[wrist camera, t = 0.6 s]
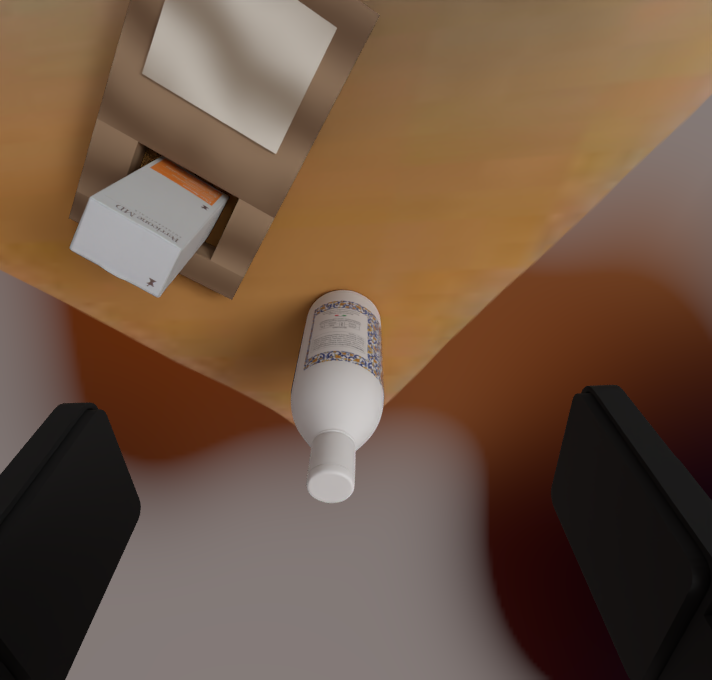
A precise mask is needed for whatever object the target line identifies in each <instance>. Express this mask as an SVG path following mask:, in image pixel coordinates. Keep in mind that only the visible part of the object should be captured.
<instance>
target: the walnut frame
mask: <svg viewBox="0 0 712 680" xmlns="http://www.w3.org/2000/svg"><path fill="white" fill-rule="evenodd" d="M379 16H380V15H379V14H378V13H376V12H375V11H374V10H372V9H371V8H370V7H368V6H367V5H365V4H364V3H363V2H361V1H360V0H130V3H129V7H128V10H127V14H126V17H125V21H124V24H123V28H122V31H121V35H120V39H119V42H118V46H117V49H116V53H115V56H114V60H113V63H112V67H111V70H110V74H109V78H108V81H107V85H106V88H105V92H104V95H103V99H102V102H101V106H100V110H99V113H98V117H97V120H96V124H95V127H94V131H93V134H92V138H91V142H90V145H89V149H88V152H87V156H86V159H85V163H84V166H83V170H82V174H81V177H80V181H79V184H78V188H77V191H76V195H75V198H74V202H73V205H72V209H71V213H70V216H69V218H70V219H72V220H74V221H76V222H78V223H79V222H80V220H81V217H82V215H83V212H84V210H85V208H86V205H87V203H88V200H89V198H90V197H91V196H92V195H94V194H96V193H97V192H99V191H101V190H103V189H105V188H106V187H108V186H110V185H112V184H113V183H115V182H117V181H119V180H120V179H122V178H124V177H126V176H128V175H129V174H131V173H133V172H135V171H136V170H138V169H140V166H141V163H142V160H143V157H144V154H145V151H146V148H147V147H149V148H150V149H152V150H154V151H156V152H157V153H159V154H161V155H163V156H165V157H166V158H168V159H170V160H172V161H173V162H175V163H177V164H179V165H181V166H182V167H184V168H186V169H188V170H189V171H191V172H193V173H195V174H197V175H198V176H200V177H202V178H204V179H205V180H207V181H209V182H211V183H213V184H214V185H216V186H218V187H220V188H221V189H223V190H225V191H227V192H229V193H230V194H232V195H234V196H236V197H237V198H239V200H238V202H237V204H236V207H235V209H234V211H233V213H232V215H231V217H230V219H229V221H228V224H227V226H226V228H225V230H224V232H223V234H222V236H221V239H220V241H219V243H218V245H217V247H214V246H212V245H210V244H208V243H206V242H204V243H203V244H202V245H201V246H200V247H199V249H198V250H197V251H196V252H195V254H194V255H193V256H192V257H191V259H190V260H189V261H188V262H187V264H186V265H185V266H184V267H183V269H182V270H181V271H180V272H179V274H181V275H183V276H185V277H187V278H189V279H191V280H193V281H195V282H197V283H199V284H201V285H203V286H205V287H207V288H209V289H211V290H213V291H215V292H217V293H219V294H221V295H223V296H225V297H227V298H229V299H231V300H232V299H233V297H234V295H235V293H236V291H237V289H238V287H239V285H240V283H241V281H242V279H243V278H244V276H245V274H246V272H247V270H248V268H249V266H250V264H251V262H252V260H253V258H254V256H255V254H256V253H257V251H258V249H259V247H260V245H261V243H262V241H263V239H264V237H265V235H266V233H267V231H268V230H269V228H270V226H271V224H272V222H273V220H274V218H275V216H276V214H277V212H278V210H279V208H280V206H281V205H282V203H283V201H284V199H285V197H286V195H287V193H288V191H289V189H290V187H291V185H292V183H293V181H294V180H295V178H296V176H297V174H298V172H299V170H300V168H301V166H302V164H303V162H304V160H305V158H306V156H307V155H308V153H309V151H310V149H311V147H312V145H313V143H314V141H315V139H316V137H317V135H318V133H319V131H320V130H321V128H322V126H323V124H324V122H325V120H326V118H327V116H328V114H329V112H330V110H331V108H332V106H333V105H334V103H335V101H336V99H337V97H338V95H339V93H340V91H341V89H342V87H343V85H344V83H345V81H346V80H347V78H348V76H349V74H350V72H351V70H352V68H353V66H354V64H355V62H356V60H357V58H358V57H359V55H360V53H361V51H362V49H363V47H364V45H365V43H366V41H367V39H368V37H369V35H370V33H371V32H372V30H373V28H374V26H375V24H376V22H377V20H378V18H379Z"/></svg>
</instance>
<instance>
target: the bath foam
mask: <svg viewBox="0 0 712 680" xmlns="http://www.w3.org/2000/svg"><path fill="white" fill-rule="evenodd" d="M383 404H384V383H383V360H382V337H381V321H380V316H379V313H378V310H377V308H376V307H375V305H374V304H373V303H372V302H371V301H370V300H369V299H368V298H366V297H365V296H363V295H361V294H359V293H357V292H354V291H349V290H337V291H332V292H329V293H326V294H324V295H323V296H321V297H320V298H318V299H317V300H316V301H315V302H314V304H313V305H312V306H311V308H310V310H309V313H308V316H307V320H306V325H305V330H304V332H303V337H302V342H301V347H300V351H299V356H298V361H297V365H296V370H295V375H294V380H293V384H292V389H291V409H292V415H293V419H294V422H295V425H296V427H297V429H298V431H299V433H300V434H301V436H302V437H303V438H304V440H305V441H306V442H307V443H308V445H309V446H310V447H311V454H310V460H309V468H308V475H307V489H308V492H309V493H310V494H311V496H313V497H314V498H315V499H317V500H319V501H322V502H326V503H337V502H341V501H343V500H346V499H347V498H349V496H351V494H352V493H353V490H354V485H355V451H356V450H357V449H359V448H360V447H361V446H362V445H363V444H364V443H365V442H366V441H367V440H368V439H369V438H370V437H371V435H372V434H373V433H374V431H375V430H376V428H377V426H378V423H379V421H380V418H381V415H382V411H383Z"/></svg>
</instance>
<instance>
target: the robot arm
mask: <svg viewBox="0 0 712 680" xmlns="http://www.w3.org/2000/svg"><path fill="white" fill-rule="evenodd" d="M551 497H552V502H553V506H554V508H555V511H556V513H557V515H558V518H559V520H560V522H561V524H562V527H563V529H564V531H565V534H566V536H567V538H568V540H569V543H570V545H571V547H572V550H573V552H574V554H575V556H576V559H577V561H578V563H579V565H580V568H581V570H582V572H583V575H584V577H585V579H586V581H587V583H588V586H589V588H590V591H591V593H592V595H593V598H594V600H595V602H596V604H597V606H598V609H599V611H600V613H601V616H602V618H603V620H604V623H605V625H606V627H607V629H608V632H609V634H610V636H611V639H612V641H613V643H614V645H615V648H616V650H617V652H618V654H619V657H620V659H621V661H622V664H623V666H624V668H625V671H626V673H627V675H628V677H629V678H630V679H631V680H712V501H711V499H710V498H709V497H708V496H707V494H706V493H705V492H704V491H703V489H702V488H701V487H700V486H699V484H698V483H697V482H696V481H695V479H694V478H693V477H692V476H691V474H690V473H689V472H688V470H687V469H686V468H685V467H684V465H683V464H682V463H681V462H680V461H679V459H678V458H677V457H675V456H674V454H673V453H672V452H671V451H670V449H669V448H668V447H667V445H666V444H665V443H664V442H663V440H662V439H661V438H660V436H659V435H658V434H657V433H656V431H655V430H654V429H653V428H652V426H651V425H650V424H649V423H648V421H647V420H646V419H645V417H644V416H643V415H642V414H641V413H640V411H639V410H638V409H637V407H636V406H635V405H634V404H633V402H632V401H631V400H630V398H629V397H628V396H627V395H626V393H625V392H624V391H623V390H622V389H621V388H620V387H619V386H617V385H602V386H601V385H600V386H586V387H585V388H584V389H583V390H582V393H581V394H575V396H574V397H573V401H572V405H571V409H570V413H569V417H568V421H567V425H566V430H565V434H564V438H563V442H562V446H561V451H560V455H559V459H558V463H557V467H556V471H555V475H554V480H553V484H552V489H551ZM140 508H141V506H140V500H139V497H138V495H137V492H136V490H135V487H134V484H133V482H132V479H131V476H130V474H129V472H128V469H127V466H126V463H125V461H124V459H123V456H122V453H121V451H120V448H119V446H118V443H117V440H116V438H115V435H114V432H113V430H112V427H111V425H110V422H109V420H108V417H107V415H106V413H105V412H104V411H103V410H99V409H98V408H97V406H96V405H95V404H93V403H63V404H60V405H59V406H57V407H56V408H55V409H54V410H53V412H52V413H51V414H50V415H49V417H48V418H47V419H46V420H45V421H44V423H43V424H42V425H41V426H40V427H39V429H38V430H37V431H36V432H35V433H34V435H33V436H32V437H31V438H30V439H29V441H28V442H27V443H26V444H25V445H24V447H23V448H22V449H21V450H20V452H19V453H18V454H17V455H16V456H15V458H14V459H13V460H12V461H11V462H10V464H9V465H8V466H7V467H6V468H5V470H4V471H3V472H2V473H1V474H0V680H65V679H66V677H67V674H68V672H69V670H70V668H71V666H72V664H73V661H74V659H75V657H76V655H77V652H78V650H79V648H80V646H81V644H82V641H83V639H84V637H85V635H86V633H87V630H88V628H89V626H90V624H91V622H92V620H93V617H94V615H95V613H96V611H97V609H98V607H99V604H100V602H101V600H102V598H103V596H104V593H105V591H106V589H107V587H108V585H109V582H110V580H111V578H112V576H113V574H114V572H115V569H116V567H117V565H118V563H119V561H120V558H121V556H122V554H123V552H124V550H125V547H126V545H127V543H128V541H129V539H130V536H131V534H132V532H133V530H134V528H135V525H136V523H137V521H138V518H139V515H140Z"/></svg>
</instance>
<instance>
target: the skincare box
mask: <svg viewBox="0 0 712 680" xmlns="http://www.w3.org/2000/svg"><path fill="white" fill-rule="evenodd" d="M228 199H229V196H228V195H226V194H224V193H222V192H221V191H219V190H217V189H216V188H214V187H213V186H211V185H209V184H208V183H206V182H205V181H203V180H201V179H200V178H198V177H197V176H195V175H193V174H192V173H190V172H189V171H187V170H186V169H184V168H183V167H181V166H180V165H178V164H177V163H175V162H173V161H172V160H170V159H168V158H166V157H165V156H161V157H159V158H157V159H156V160H154V161H152V162H150V163H149V164H147V165H145V166H143V167H142V168H140V169H138V170H136V171H135V172H133V173H131V174H129V175H128V176H126V177H124V178H122V179H120V180H119V181H117V182H115V183H113V184H112V185H110V186H108V187H106V188H105V189H103V190H101V191H99V192H97V193H96V194H94V195H92V196H91V197H90V198H89V200H88V203H87V205H86V208H85V210H84V212H83V215H82V217H81V220H80V222H79V225H78V227H77V230H76V232H75V235H74V237H73V240H72V242H71V245H70V250H72V251H73V252H75V253H77V254H78V255H80V256H82V257H84V258H86V259H88V260H89V261H91V262H93V263H95V264H97V265H99V266H100V267H102V268H103V269H104V270H106V271H107V272H109V273H111V274H113V275H114V276H116V277H118V278H120V279H123V280H125V281H128V282H129V283H131V284H133V285H135V286H137V287H139V288H141V289H143V290H144V291H146V292H148V293H150V294H152V295H154V296H155V297H160V296H161V295H162V293H163V292H164V291H165V289H166V288H167V287H168V285H169V284H170V283H171V282H172V281H173V279H174V278H175V277H176V276H177V275H178V273H179V272H180V271H181V270H182V269H183V267H184V266H185V265H186V264H187V262H188V261H189V260H190V259H191V257H192V256H193V255H194V254H195V252H196V251H197V250H198V249H199V247H200V246H201V245H202V244H203V243H204V241H205V240H206V239H207V238H208V236H209V234H210V233H211V231H212V229H213V227H214V225H215V224H216V222H217V220H218V218H219V216H220V214H221V212H222V210H223V208H224V206H225V205H226V203H227V201H228Z"/></svg>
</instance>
